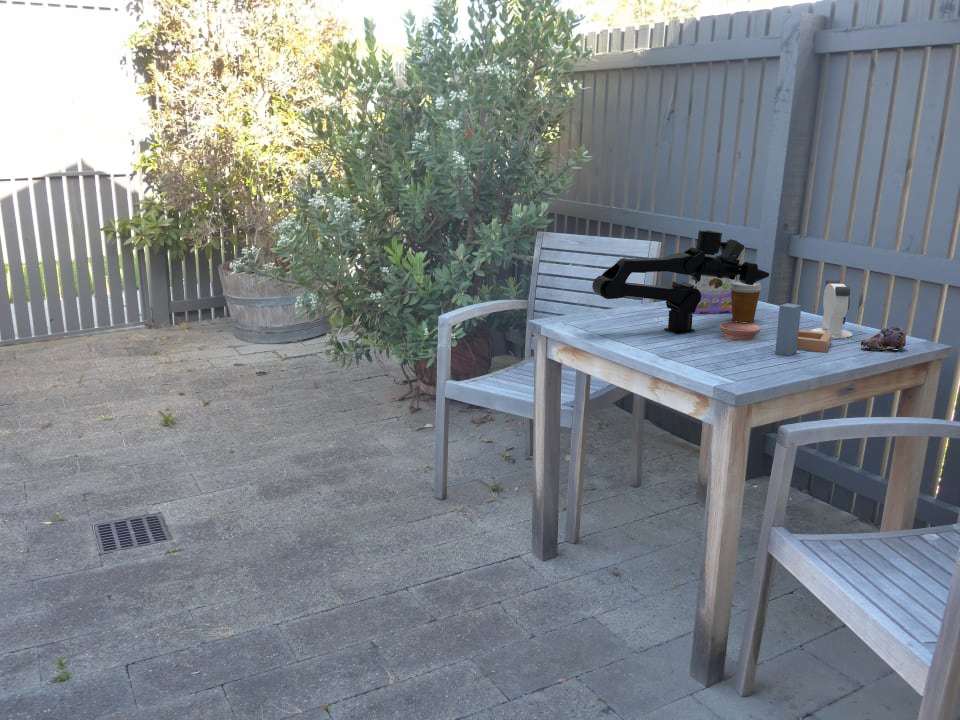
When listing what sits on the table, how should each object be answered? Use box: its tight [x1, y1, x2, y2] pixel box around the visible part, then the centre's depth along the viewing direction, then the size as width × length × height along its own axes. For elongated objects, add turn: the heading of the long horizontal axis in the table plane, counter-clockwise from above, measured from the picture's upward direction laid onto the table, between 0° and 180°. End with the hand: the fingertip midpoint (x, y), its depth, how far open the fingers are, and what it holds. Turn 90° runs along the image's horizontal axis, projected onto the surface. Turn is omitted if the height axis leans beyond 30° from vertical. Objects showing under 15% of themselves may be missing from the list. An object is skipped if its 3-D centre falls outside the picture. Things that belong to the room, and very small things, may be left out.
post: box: [774, 302, 802, 356], centre depth 224 cm, size 4×4×13 cm
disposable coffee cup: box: [730, 280, 763, 324], centre depth 260 cm, size 10×10×12 cm
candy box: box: [689, 275, 738, 315], centre depth 273 cm, size 14×6×16 cm, turn 94°
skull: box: [860, 326, 907, 351], centre depth 229 cm, size 12×8×6 cm, turn 90°
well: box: [797, 329, 833, 353], centre depth 232 cm, size 10×10×3 cm
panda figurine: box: [810, 280, 853, 340], centre depth 243 cm, size 12×11×15 cm
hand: (760, 272), depth 251 cm, fingers open, 9 cm apart
